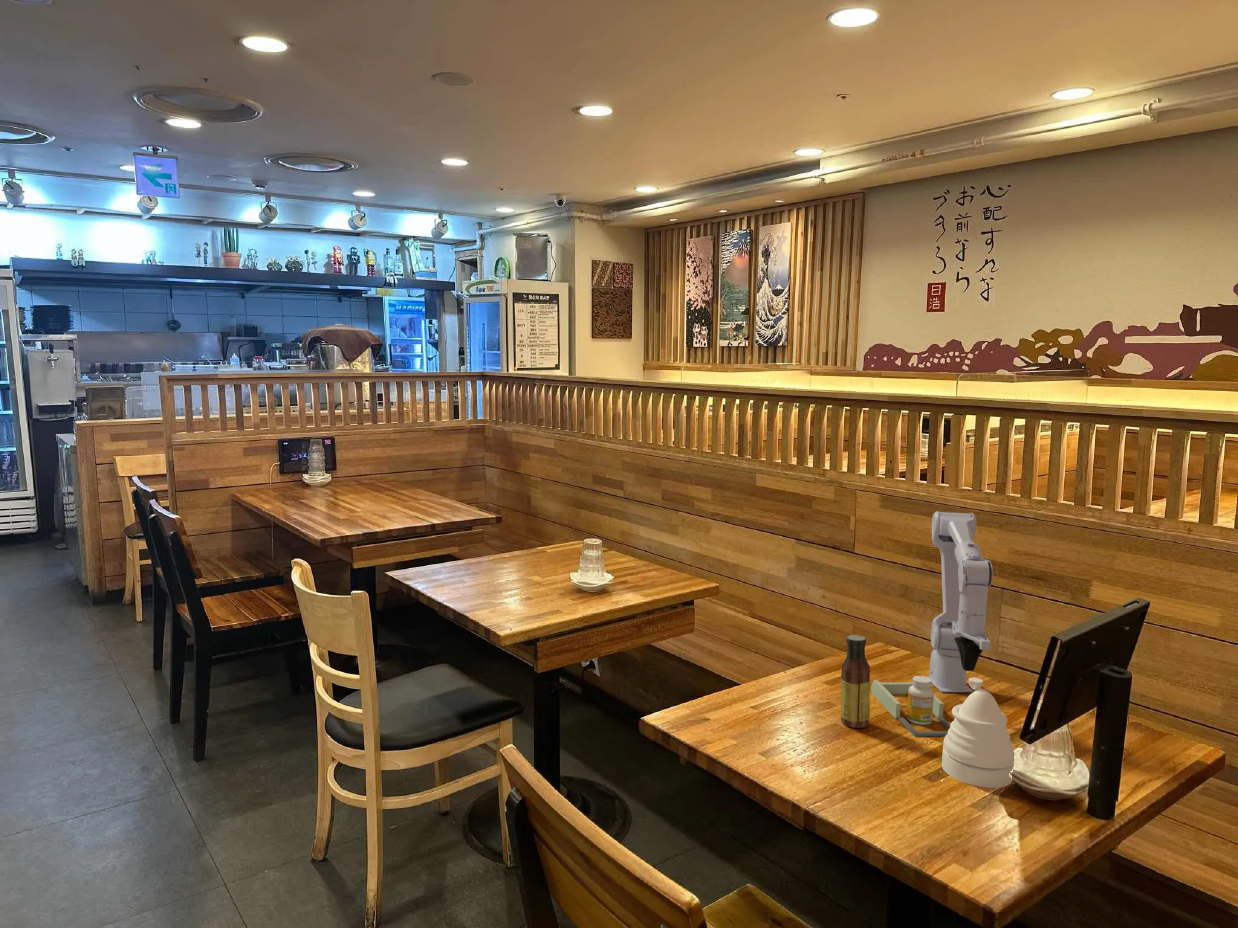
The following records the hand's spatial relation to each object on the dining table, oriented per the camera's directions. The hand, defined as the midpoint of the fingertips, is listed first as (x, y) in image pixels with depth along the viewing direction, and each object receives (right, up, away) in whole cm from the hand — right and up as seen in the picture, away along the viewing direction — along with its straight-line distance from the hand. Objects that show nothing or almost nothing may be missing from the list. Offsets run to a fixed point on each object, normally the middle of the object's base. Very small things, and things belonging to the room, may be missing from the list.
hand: (968, 669), depth 187 cm
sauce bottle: (-28, -11, -6) cm, 30 cm away
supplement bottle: (-12, -11, -3) cm, 17 cm away
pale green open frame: (-13, -10, +5) cm, 17 cm away
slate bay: (-12, -11, -7) cm, 18 cm away
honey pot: (-10, -14, -26) cm, 31 cm away
